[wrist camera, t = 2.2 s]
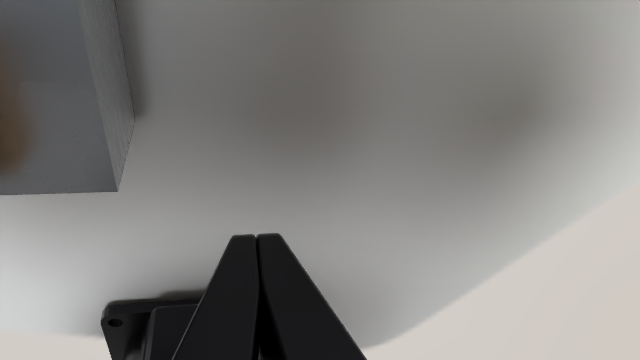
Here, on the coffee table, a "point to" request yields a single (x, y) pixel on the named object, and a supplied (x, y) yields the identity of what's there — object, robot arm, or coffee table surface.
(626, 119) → the coffee table surface
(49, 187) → the socket block
